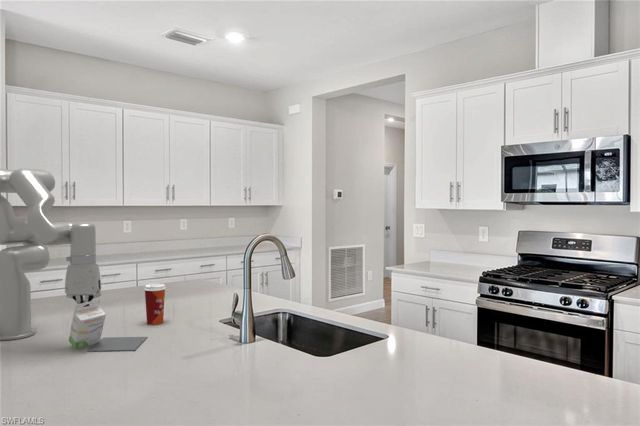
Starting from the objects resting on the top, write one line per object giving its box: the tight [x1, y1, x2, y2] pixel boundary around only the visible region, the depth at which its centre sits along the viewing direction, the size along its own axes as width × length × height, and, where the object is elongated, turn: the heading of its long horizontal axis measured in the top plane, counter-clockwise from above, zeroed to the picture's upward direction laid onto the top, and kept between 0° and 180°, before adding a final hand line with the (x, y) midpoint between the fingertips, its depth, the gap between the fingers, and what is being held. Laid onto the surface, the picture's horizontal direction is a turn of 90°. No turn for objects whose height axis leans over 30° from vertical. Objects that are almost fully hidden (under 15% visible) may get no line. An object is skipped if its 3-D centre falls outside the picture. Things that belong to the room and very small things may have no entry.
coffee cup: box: [143, 283, 167, 326], centre depth 183 cm, size 8×8×15 cm
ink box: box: [68, 299, 107, 350], centre depth 152 cm, size 9×5×15 cm, turn 143°
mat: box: [86, 336, 148, 353], centre depth 155 cm, size 15×14×1 cm
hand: (84, 314), depth 154 cm, fingers closed
